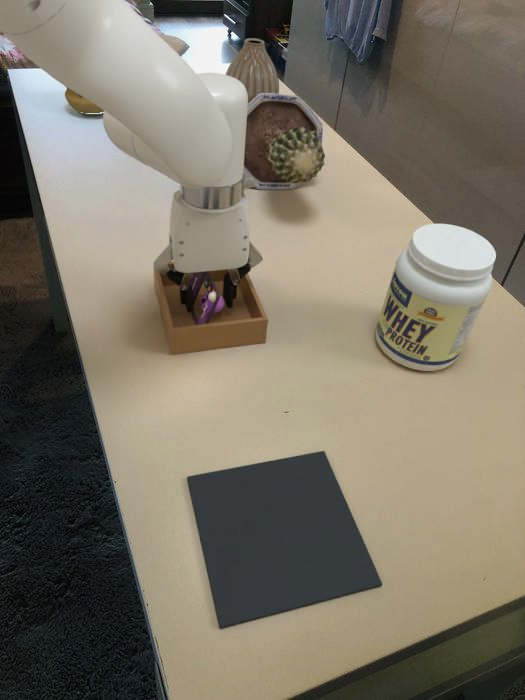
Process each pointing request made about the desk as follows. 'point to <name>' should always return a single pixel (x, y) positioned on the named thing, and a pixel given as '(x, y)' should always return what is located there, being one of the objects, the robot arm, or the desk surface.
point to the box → (224, 327)
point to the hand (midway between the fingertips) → (208, 303)
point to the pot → (81, 103)
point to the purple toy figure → (206, 296)
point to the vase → (254, 69)
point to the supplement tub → (435, 296)
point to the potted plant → (282, 142)
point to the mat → (278, 538)
